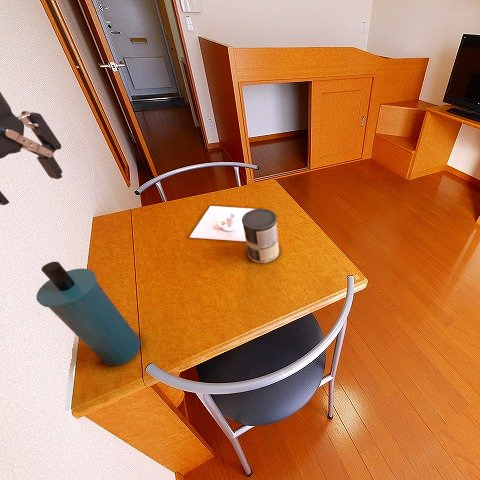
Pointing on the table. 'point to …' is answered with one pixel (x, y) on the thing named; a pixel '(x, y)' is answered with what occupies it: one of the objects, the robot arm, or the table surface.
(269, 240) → the coffee can
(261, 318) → the table surface
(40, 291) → the lid
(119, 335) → the tin
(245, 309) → the table surface
